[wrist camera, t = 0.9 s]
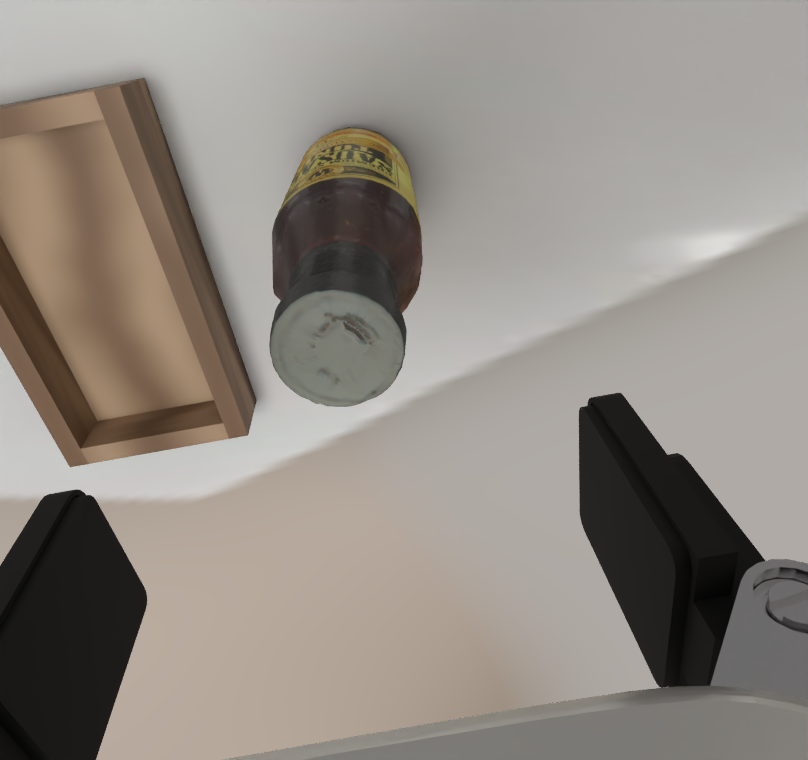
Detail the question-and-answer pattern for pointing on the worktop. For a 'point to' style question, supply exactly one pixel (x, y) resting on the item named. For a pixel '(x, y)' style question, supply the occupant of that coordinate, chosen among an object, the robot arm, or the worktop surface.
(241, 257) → the worktop surface
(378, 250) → the sauce bottle
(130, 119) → the bottle tray
